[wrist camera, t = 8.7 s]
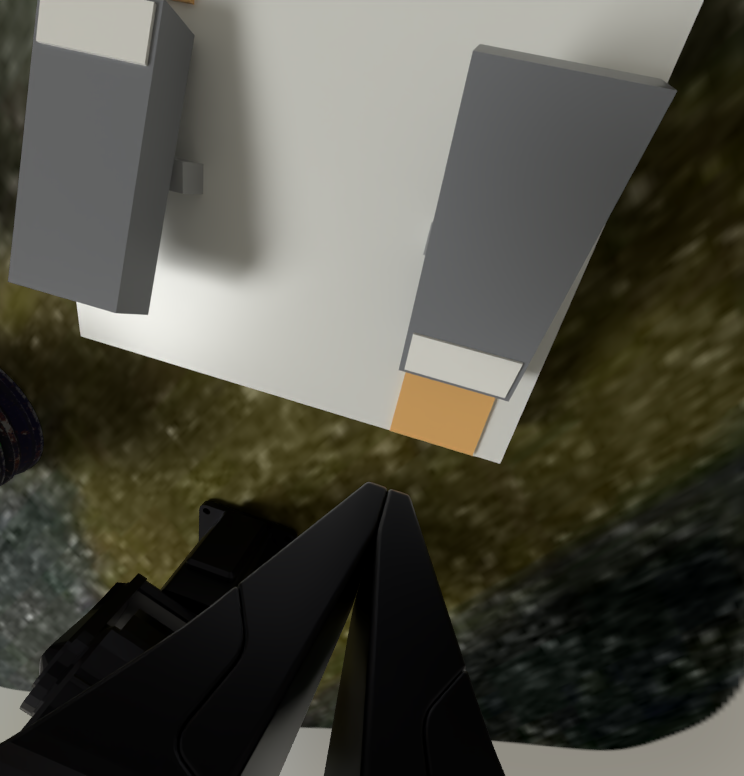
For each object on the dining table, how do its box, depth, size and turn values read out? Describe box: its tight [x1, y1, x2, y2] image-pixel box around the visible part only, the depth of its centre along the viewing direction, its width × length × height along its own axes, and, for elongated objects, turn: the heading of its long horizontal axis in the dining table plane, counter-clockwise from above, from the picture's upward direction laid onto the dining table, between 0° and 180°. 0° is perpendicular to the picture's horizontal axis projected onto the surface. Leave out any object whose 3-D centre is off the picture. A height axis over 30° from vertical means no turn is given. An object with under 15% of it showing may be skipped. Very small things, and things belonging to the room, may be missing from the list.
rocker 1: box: [8, 0, 195, 315], centre depth 13 cm, size 9×4×2 cm, turn 167°
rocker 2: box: [399, 44, 677, 402], centre depth 12 cm, size 9×4×2 cm, turn 168°
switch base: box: [76, 0, 704, 464], centre depth 15 cm, size 16×20×4 cm
